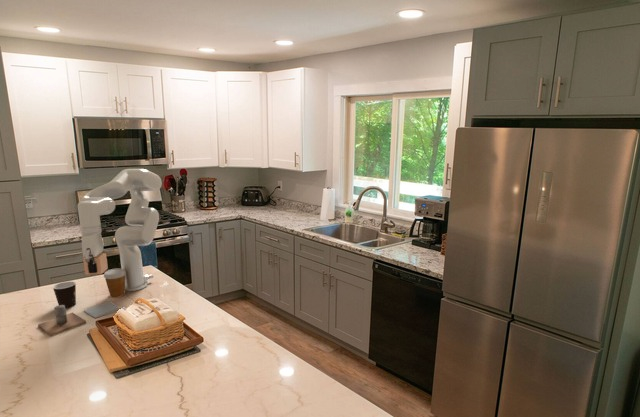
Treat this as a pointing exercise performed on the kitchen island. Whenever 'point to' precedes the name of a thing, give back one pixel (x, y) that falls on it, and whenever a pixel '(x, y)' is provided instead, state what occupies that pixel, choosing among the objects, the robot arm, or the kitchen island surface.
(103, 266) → the coin bank
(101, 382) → the kitchen island surface
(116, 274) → the disposable coffee cup
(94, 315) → the mat
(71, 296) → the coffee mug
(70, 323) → the post base
